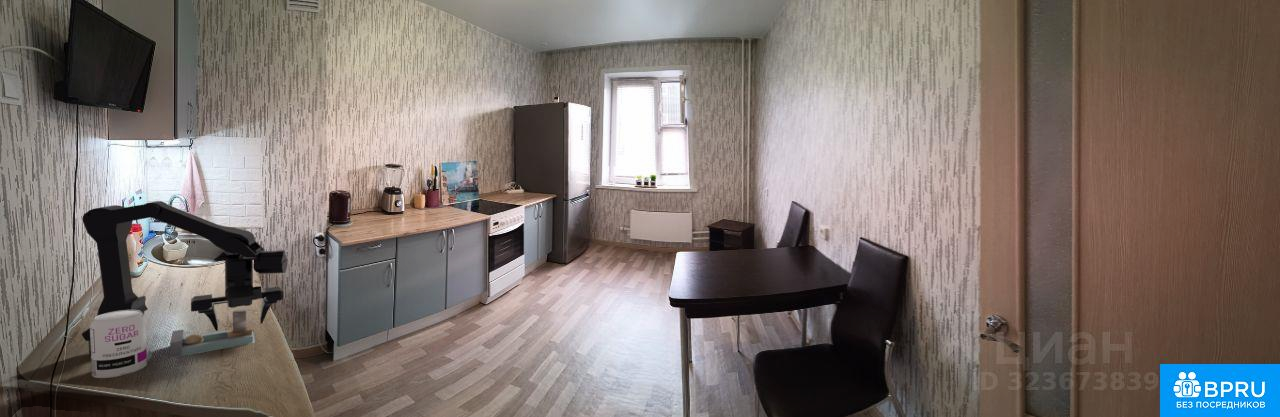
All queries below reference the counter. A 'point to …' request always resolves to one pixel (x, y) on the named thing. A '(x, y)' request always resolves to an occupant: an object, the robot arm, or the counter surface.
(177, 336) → the grey angular block
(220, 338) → the board
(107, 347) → the supplement can
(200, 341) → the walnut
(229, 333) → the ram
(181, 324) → the counter surface
